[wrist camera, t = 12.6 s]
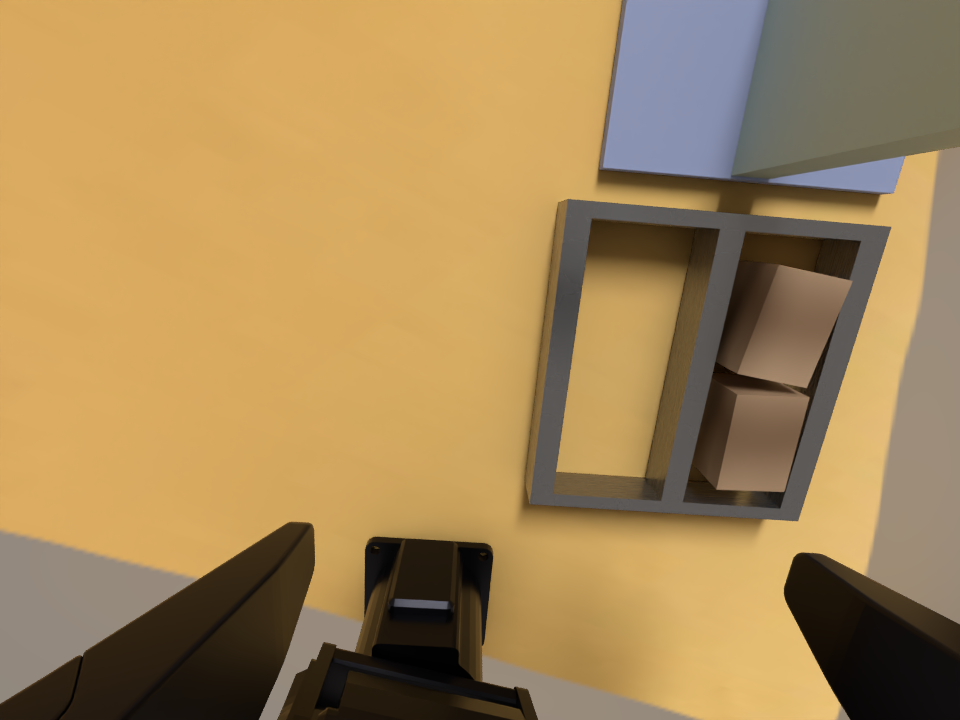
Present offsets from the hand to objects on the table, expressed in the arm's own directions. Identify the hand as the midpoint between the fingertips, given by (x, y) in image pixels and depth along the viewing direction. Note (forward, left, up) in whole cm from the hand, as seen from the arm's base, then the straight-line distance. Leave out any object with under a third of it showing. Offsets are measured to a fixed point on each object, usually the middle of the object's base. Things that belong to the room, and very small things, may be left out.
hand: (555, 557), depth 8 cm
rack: (0, -8, -13) cm, 15 cm away
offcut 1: (+3, -11, -13) cm, 17 cm away
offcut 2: (-2, -11, -13) cm, 17 cm away
